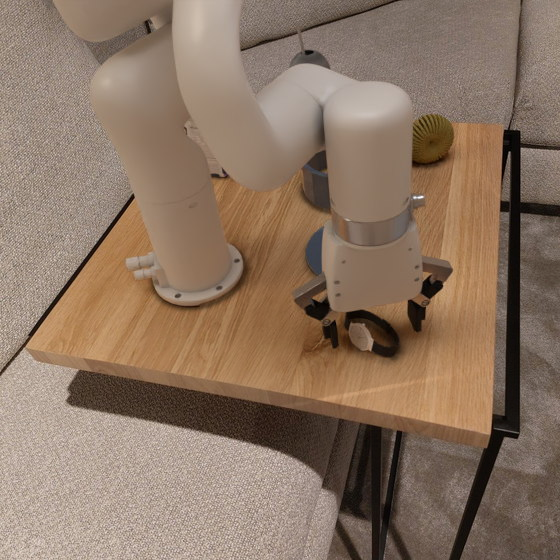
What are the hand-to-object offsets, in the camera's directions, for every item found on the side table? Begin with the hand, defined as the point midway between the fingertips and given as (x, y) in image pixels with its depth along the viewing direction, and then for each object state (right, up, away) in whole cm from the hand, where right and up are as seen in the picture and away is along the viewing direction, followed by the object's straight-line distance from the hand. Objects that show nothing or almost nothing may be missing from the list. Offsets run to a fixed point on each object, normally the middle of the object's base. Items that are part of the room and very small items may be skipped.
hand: (373, 331), depth 68 cm
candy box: (-20, +28, +35) cm, 49 cm away
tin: (-1, +21, +24) cm, 31 cm away
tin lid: (0, +10, +12) cm, 15 cm away
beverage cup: (-5, +31, +36) cm, 47 cm away
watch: (0, -1, +1) cm, 2 cm away
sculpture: (+13, +25, +26) cm, 39 cm away
